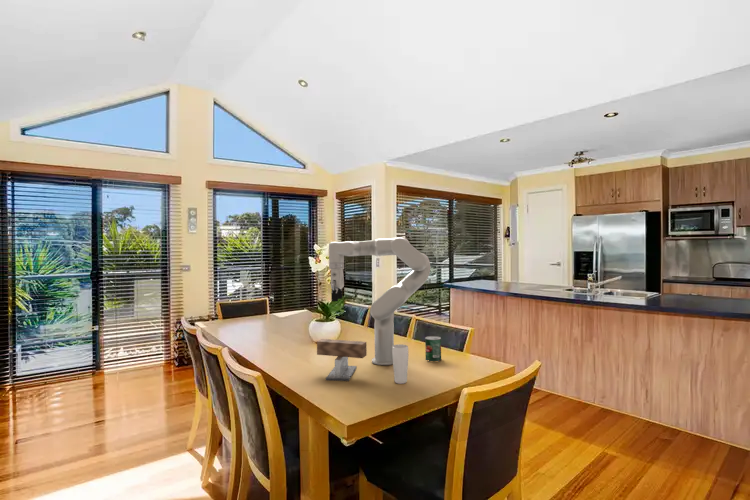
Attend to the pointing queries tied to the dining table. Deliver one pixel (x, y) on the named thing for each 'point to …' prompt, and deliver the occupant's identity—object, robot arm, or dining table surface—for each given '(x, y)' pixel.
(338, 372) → the ridge stand
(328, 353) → the brown wooden block
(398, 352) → the drinking glass
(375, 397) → the dining table surface
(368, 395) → the dining table surface
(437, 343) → the canned tomato
